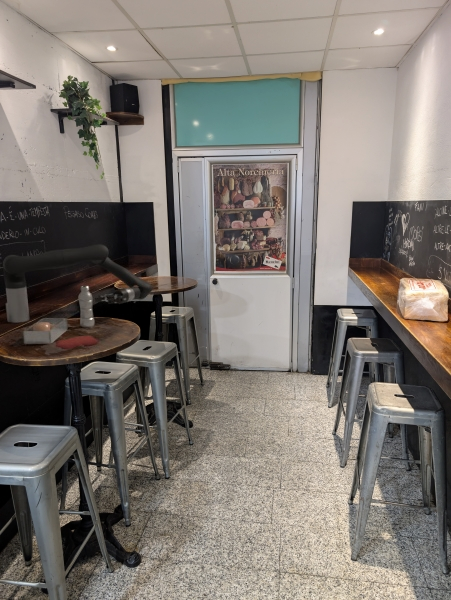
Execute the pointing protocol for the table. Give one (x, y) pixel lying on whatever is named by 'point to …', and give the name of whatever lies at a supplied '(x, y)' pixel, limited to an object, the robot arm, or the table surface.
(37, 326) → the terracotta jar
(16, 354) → the table surface
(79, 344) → the red cloth
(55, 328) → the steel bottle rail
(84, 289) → the plastic bottle
